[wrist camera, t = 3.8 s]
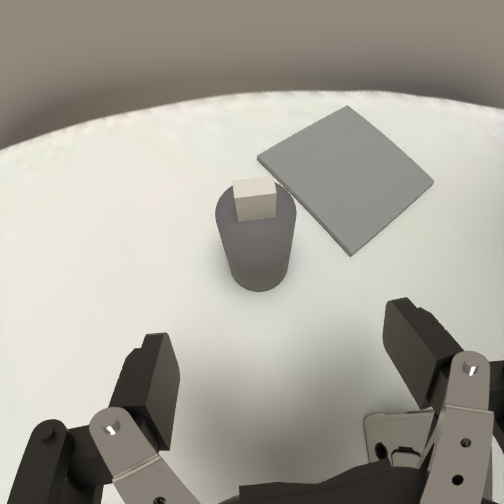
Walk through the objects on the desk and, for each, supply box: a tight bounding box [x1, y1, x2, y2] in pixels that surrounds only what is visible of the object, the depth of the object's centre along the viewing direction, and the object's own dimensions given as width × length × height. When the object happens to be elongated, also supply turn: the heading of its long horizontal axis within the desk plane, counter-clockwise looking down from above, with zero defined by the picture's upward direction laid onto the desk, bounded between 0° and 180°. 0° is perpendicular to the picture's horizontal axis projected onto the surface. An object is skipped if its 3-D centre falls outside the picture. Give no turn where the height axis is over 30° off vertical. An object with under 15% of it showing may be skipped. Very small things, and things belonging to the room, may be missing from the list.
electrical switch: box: [364, 410, 492, 501], centre depth 14 cm, size 9×5×9 cm, turn 9°
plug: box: [215, 176, 296, 292], centre depth 20 cm, size 4×4×10 cm
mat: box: [257, 105, 434, 257], centre depth 28 cm, size 12×12×1 cm
